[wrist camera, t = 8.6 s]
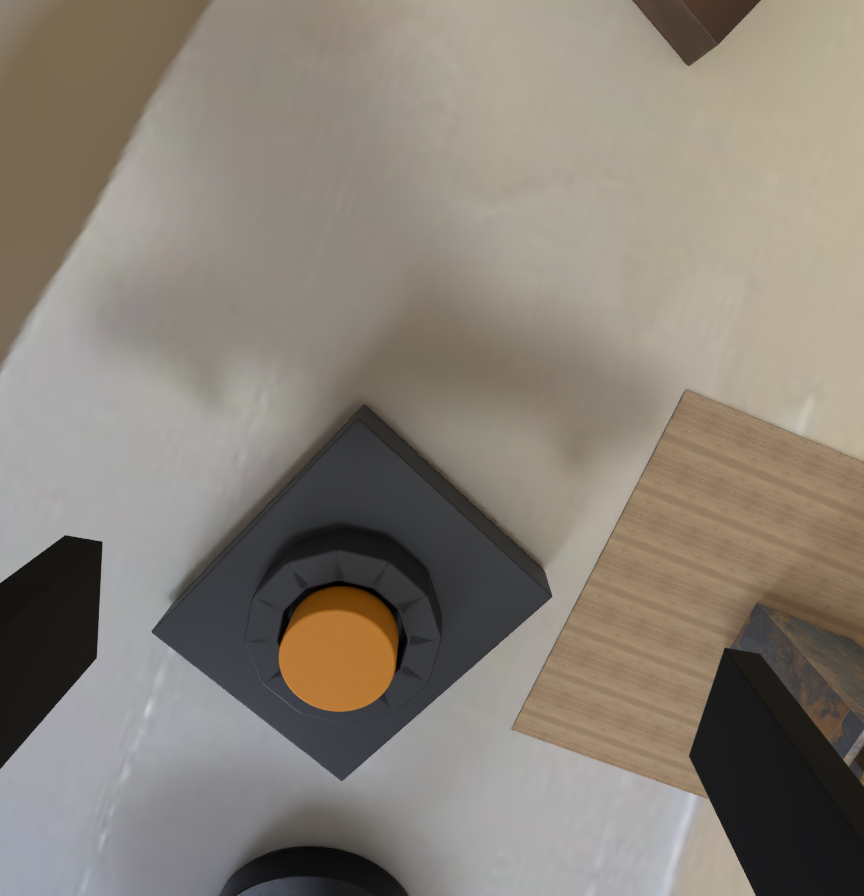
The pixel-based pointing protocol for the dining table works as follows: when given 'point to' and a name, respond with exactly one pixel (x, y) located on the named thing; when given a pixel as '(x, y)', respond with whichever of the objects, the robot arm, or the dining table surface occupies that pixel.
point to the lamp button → (339, 649)
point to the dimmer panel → (695, 22)
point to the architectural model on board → (819, 680)
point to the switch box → (361, 566)
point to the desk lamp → (312, 875)
